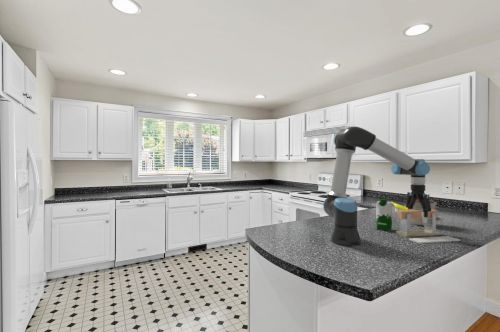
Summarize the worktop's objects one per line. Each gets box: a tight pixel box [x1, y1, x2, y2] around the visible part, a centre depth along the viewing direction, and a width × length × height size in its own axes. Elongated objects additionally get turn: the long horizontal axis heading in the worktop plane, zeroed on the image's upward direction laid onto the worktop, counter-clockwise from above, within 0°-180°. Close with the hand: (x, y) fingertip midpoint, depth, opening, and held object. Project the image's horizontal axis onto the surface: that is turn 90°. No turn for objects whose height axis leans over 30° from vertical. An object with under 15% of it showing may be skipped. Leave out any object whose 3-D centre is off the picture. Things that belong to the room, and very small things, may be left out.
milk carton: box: [375, 198, 393, 232], centre depth 166 cm, size 9×9×20 cm
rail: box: [397, 209, 439, 220], centre depth 155 cm, size 26×3×4 cm, turn 102°
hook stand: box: [395, 213, 441, 238], centre depth 155 cm, size 24×8×13 cm, turn 102°
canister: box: [408, 199, 437, 227], centre depth 182 cm, size 18×18×21 cm
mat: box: [408, 235, 461, 245], centre depth 142 cm, size 27×7×1 cm, turn 102°
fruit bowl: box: [391, 201, 408, 214], centre depth 213 cm, size 28×27×11 cm
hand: (417, 220), depth 155 cm, fingers open, 9 cm apart
